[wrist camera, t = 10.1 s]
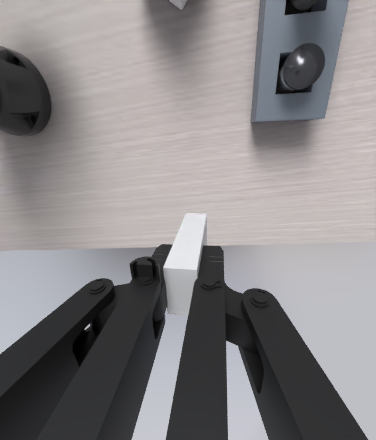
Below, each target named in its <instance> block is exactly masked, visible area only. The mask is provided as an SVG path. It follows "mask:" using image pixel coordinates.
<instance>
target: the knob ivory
mask: <svg viewBox="0 0 376 440" xmlns="http://www.w3.org/2000/svg"><path fill="white" fill-rule="evenodd" d="M317 1H318V0H291V2H292V4H293V6H294V7H295V8H297V9H299V10H306V9H309V8H311V7H312V6H314V5H315V4H316V3H317Z"/></svg>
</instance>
